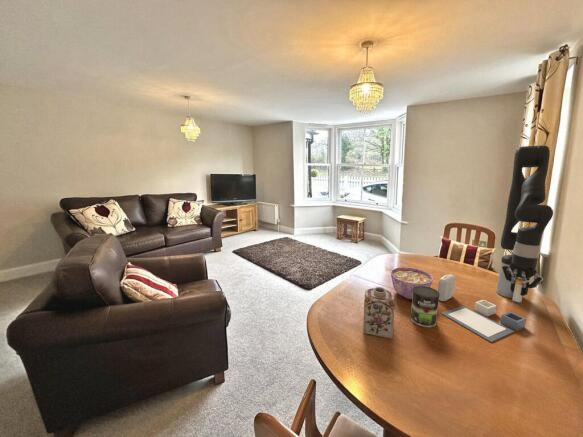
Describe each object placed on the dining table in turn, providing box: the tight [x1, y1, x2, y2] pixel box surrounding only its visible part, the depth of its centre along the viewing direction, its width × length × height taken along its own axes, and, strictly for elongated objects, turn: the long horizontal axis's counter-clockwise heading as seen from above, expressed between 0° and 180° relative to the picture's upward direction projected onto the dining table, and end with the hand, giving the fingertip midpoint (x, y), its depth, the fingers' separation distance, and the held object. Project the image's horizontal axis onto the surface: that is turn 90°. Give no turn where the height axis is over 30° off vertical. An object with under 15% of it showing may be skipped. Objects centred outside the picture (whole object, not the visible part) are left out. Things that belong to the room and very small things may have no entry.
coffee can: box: [410, 286, 440, 328], centre depth 111 cm, size 10×10×14 cm
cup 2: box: [499, 311, 527, 332], centre depth 107 cm, size 6×6×4 cm
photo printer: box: [437, 273, 456, 302], centre depth 129 cm, size 10×4×12 cm, turn 123°
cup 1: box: [473, 299, 497, 318], centre depth 117 cm, size 6×6×4 cm
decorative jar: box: [362, 286, 396, 339], centre depth 106 cm, size 12×12×18 cm
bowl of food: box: [390, 266, 434, 300], centre depth 132 cm, size 20×20×12 cm
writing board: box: [441, 305, 515, 343], centre depth 110 cm, size 15×21×1 cm
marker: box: [511, 278, 523, 305], centre depth 104 cm, size 3×3×10 cm
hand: (518, 293), depth 105 cm, fingers closed on marker, 2 cm apart
